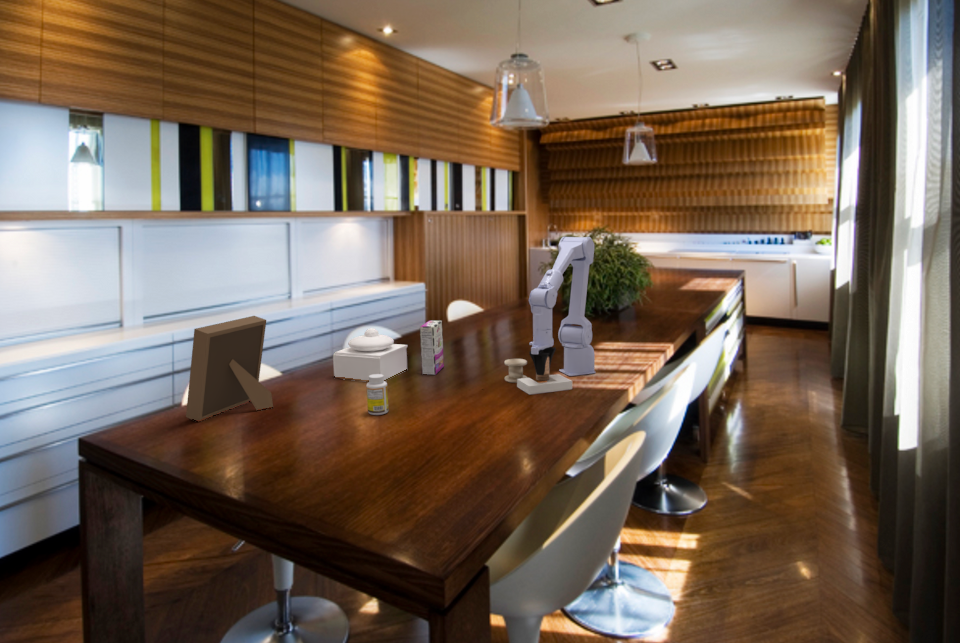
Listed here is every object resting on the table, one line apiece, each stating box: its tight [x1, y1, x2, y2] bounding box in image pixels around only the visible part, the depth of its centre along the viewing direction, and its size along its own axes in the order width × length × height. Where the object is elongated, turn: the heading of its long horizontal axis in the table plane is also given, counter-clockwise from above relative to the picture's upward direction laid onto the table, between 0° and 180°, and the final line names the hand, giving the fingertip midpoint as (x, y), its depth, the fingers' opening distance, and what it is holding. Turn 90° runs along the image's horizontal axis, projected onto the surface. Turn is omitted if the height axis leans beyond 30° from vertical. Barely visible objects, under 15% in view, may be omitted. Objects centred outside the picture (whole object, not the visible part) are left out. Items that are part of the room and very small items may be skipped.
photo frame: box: [185, 315, 274, 421], centre depth 176 cm, size 15×22×25 cm
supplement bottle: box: [365, 374, 390, 416], centre depth 174 cm, size 6×6×10 cm
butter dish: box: [332, 327, 409, 381], centre depth 215 cm, size 18×18×16 cm
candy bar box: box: [419, 320, 445, 376], centre depth 217 cm, size 11×5×16 cm, turn 168°
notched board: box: [516, 373, 573, 395], centre depth 195 cm, size 14×9×2 cm, turn 110°
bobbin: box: [504, 358, 528, 384], centre depth 205 cm, size 7×7×6 cm
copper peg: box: [535, 356, 550, 382], centre depth 195 cm, size 4×4×7 cm
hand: (542, 373), depth 195 cm, fingers closed on copper peg, 4 cm apart
